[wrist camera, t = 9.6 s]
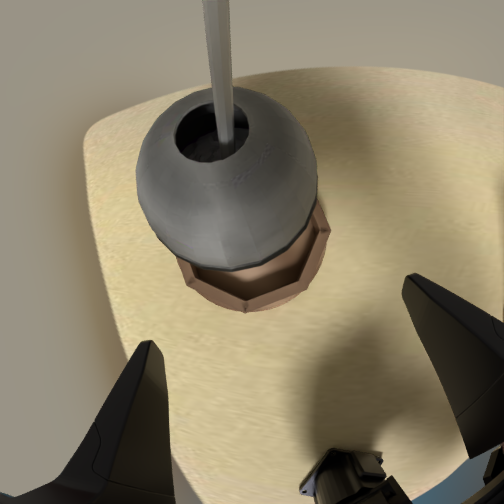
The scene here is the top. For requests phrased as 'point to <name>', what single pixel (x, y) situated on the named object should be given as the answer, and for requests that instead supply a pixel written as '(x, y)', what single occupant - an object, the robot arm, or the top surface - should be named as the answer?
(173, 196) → the beverage cup
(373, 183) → the top surface
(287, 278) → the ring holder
